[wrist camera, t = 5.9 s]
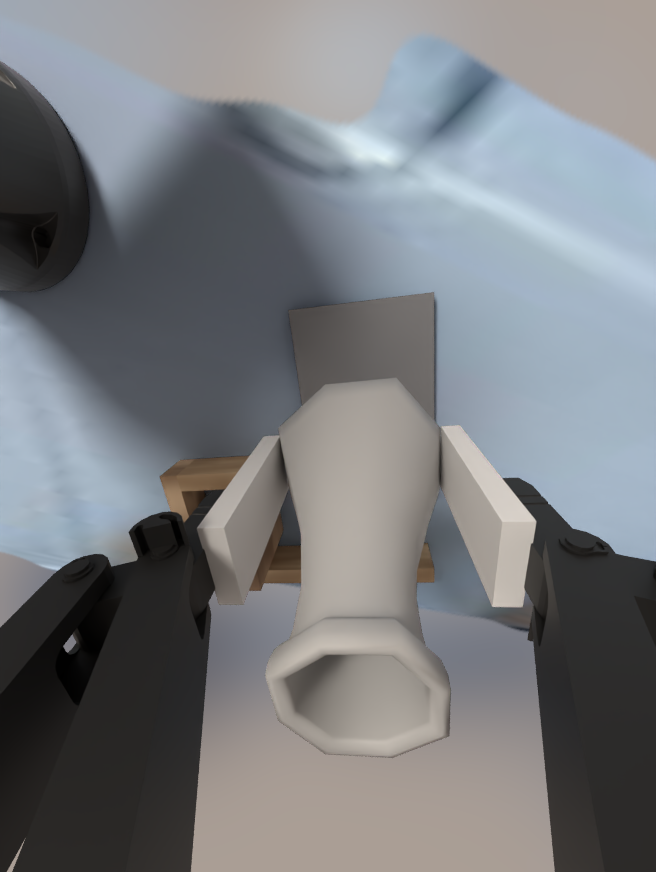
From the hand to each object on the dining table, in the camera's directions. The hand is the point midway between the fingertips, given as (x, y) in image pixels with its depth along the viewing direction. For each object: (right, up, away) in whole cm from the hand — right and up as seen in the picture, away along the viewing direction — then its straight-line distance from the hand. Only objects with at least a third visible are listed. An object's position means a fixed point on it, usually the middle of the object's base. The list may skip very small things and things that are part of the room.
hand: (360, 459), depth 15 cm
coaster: (+2, +6, +13) cm, 15 cm away
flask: (0, 0, 0) cm, 0 cm away
